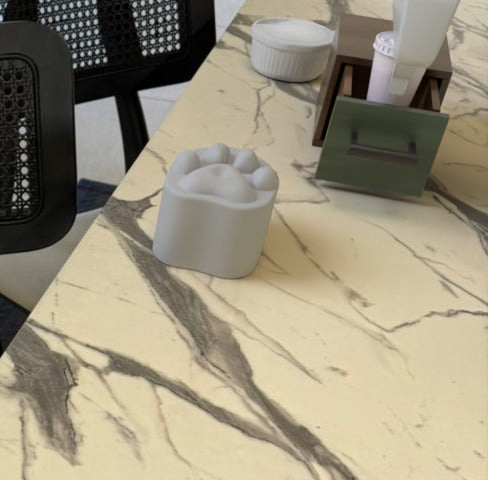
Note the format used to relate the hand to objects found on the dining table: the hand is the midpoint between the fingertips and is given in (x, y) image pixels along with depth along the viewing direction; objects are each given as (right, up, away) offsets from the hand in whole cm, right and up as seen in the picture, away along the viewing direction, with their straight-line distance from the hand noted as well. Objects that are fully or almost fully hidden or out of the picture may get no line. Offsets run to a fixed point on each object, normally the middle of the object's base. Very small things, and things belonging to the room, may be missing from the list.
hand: (395, 80), depth 109 cm
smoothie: (0, -4, +4) cm, 6 cm away
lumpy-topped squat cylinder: (-21, -19, -7) cm, 29 cm away
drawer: (-1, -8, +6) cm, 10 cm away
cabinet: (+3, 0, +17) cm, 17 cm away
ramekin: (-4, +13, +30) cm, 33 cm away
